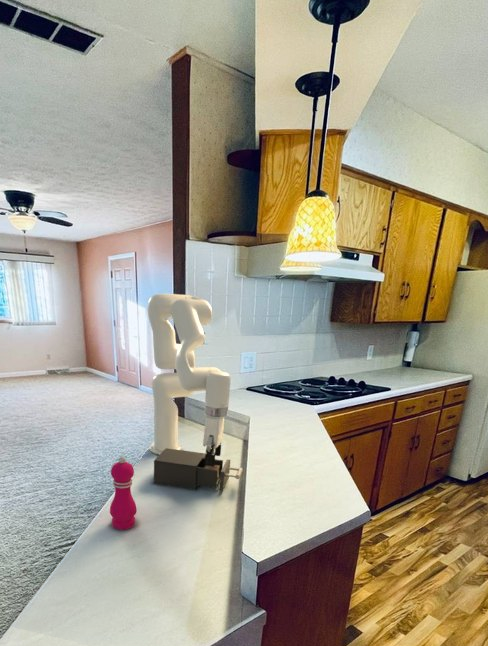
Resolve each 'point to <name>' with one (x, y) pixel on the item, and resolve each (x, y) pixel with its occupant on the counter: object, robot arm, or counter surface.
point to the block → (215, 467)
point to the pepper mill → (122, 496)
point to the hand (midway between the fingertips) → (212, 460)
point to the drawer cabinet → (177, 468)
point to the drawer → (215, 474)
